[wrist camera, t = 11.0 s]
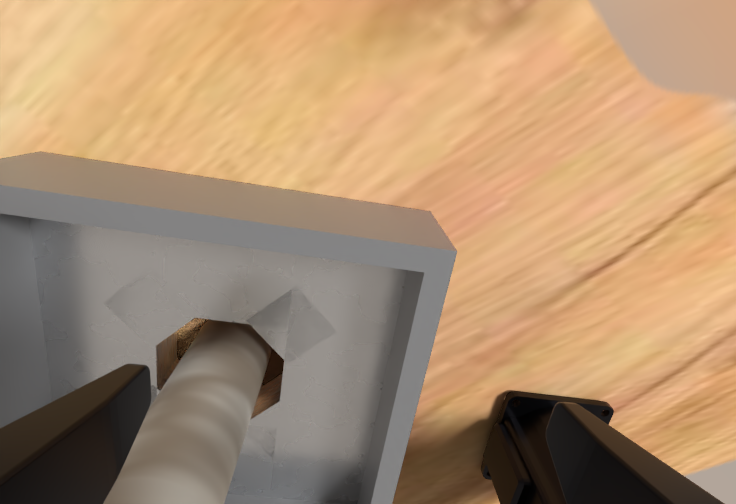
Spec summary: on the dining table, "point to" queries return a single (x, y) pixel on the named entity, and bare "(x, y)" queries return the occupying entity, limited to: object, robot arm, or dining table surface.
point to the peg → (197, 421)
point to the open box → (228, 227)
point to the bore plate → (239, 305)
